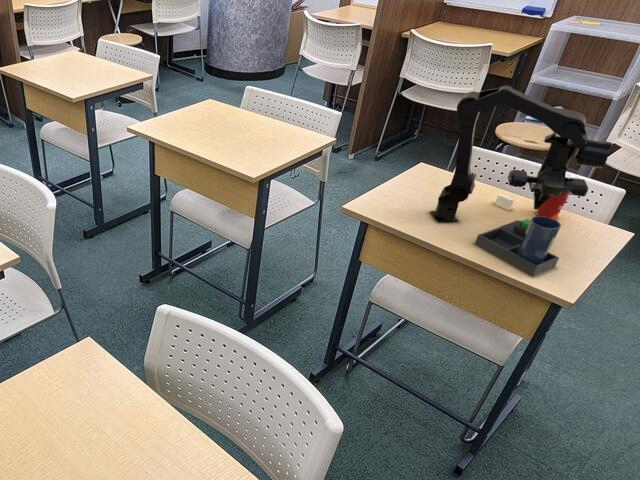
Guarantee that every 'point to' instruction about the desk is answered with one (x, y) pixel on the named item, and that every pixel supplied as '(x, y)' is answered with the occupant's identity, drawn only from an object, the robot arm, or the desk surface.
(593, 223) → the desk surface
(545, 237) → the tumbler
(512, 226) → the control block
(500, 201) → the eraser
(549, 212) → the paper cup
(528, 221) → the button
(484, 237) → the divided tray
